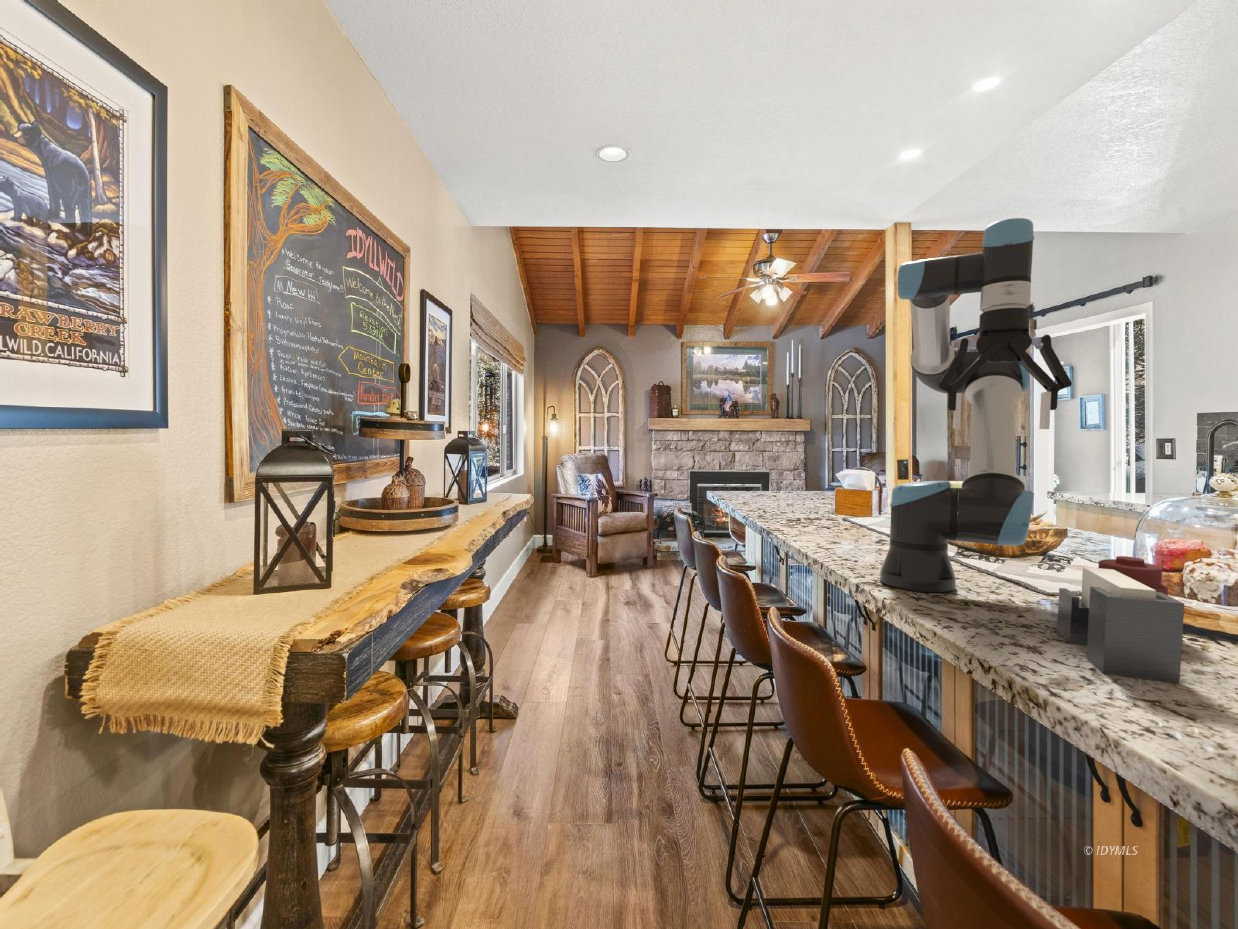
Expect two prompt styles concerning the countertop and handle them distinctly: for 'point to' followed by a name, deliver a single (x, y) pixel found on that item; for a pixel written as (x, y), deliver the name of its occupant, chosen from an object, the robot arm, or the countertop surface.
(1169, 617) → the cup bracket
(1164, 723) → the countertop surface
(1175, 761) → the countertop surface
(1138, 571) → the mechanical component
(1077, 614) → the grey channel block
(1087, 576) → the cream rectangular block
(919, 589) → the robot arm
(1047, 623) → the countertop surface
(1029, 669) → the countertop surface
